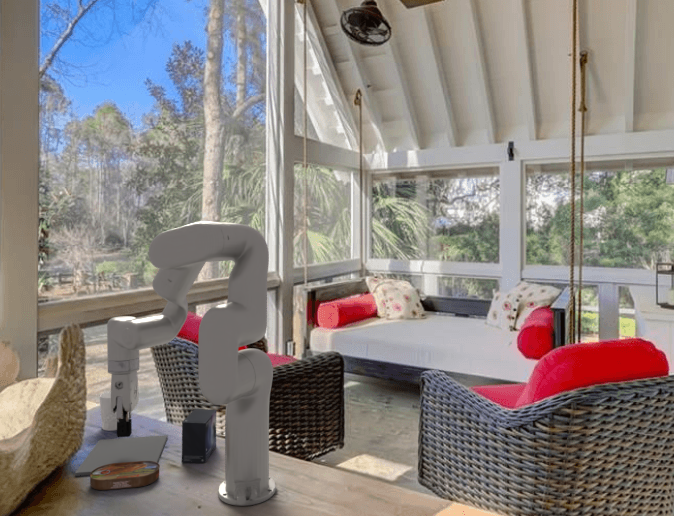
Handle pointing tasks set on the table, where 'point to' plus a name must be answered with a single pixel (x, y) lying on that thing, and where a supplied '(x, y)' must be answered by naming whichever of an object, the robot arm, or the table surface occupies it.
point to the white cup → (107, 412)
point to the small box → (198, 436)
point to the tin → (124, 475)
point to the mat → (122, 452)
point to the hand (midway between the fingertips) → (124, 435)
